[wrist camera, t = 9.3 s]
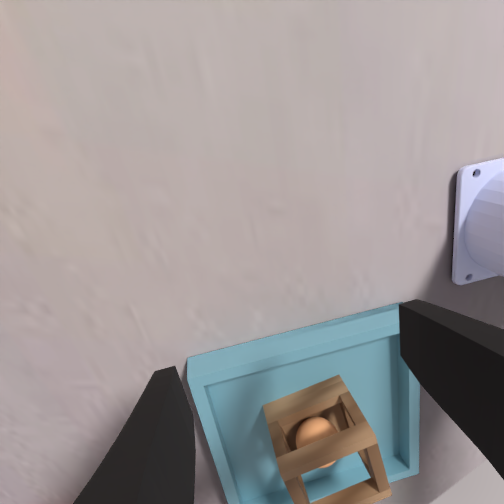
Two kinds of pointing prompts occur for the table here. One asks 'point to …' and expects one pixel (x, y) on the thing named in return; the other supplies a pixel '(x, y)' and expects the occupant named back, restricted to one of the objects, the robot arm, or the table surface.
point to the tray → (297, 378)
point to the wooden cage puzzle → (325, 442)
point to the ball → (314, 432)
